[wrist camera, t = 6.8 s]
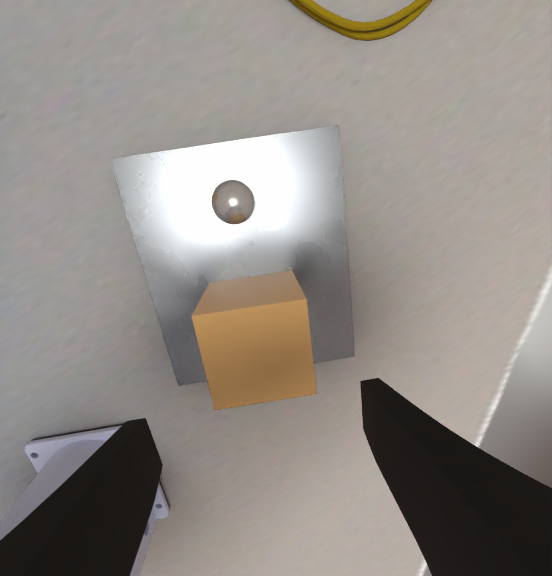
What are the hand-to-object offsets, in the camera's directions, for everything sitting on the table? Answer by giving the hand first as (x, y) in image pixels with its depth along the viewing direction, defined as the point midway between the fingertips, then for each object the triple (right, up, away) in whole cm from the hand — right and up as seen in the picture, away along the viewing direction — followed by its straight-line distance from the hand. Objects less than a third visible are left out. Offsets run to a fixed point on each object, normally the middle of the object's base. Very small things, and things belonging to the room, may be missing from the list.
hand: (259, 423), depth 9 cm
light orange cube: (-1, +3, +8) cm, 9 cm away
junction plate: (-1, +6, +8) cm, 10 cm away
